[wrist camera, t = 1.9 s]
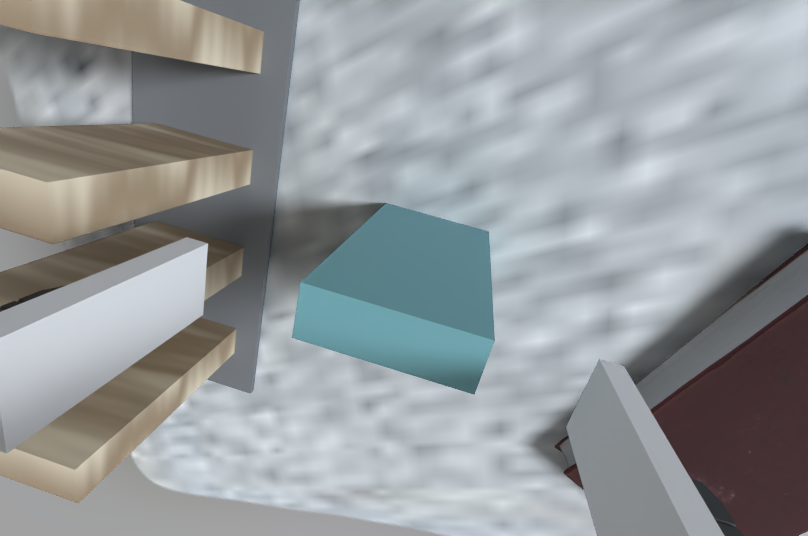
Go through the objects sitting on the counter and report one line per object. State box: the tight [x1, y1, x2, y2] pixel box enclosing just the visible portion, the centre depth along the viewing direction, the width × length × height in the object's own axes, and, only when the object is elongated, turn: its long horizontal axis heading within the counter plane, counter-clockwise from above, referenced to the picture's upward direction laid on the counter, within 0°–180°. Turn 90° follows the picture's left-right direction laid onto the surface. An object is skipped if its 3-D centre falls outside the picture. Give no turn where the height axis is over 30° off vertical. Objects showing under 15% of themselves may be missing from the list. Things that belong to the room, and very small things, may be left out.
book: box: [555, 245, 808, 536], centre depth 23 cm, size 12×19×3 cm, turn 144°
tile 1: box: [0, 317, 236, 503], centre depth 23 cm, size 2×6×12 cm, turn 77°
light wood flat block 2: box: [0, 221, 244, 306], centre depth 21 cm, size 2×6×12 cm, turn 77°
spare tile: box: [292, 203, 495, 394], centre depth 18 cm, size 2×6×12 cm, turn 76°
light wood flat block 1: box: [0, 0, 264, 74], centre depth 16 cm, size 2×6×12 cm, turn 76°
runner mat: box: [132, 0, 300, 393], centre depth 24 cm, size 31×9×1 cm, turn 166°
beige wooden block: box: [0, 123, 253, 244], centre depth 18 cm, size 2×6×12 cm, turn 76°
